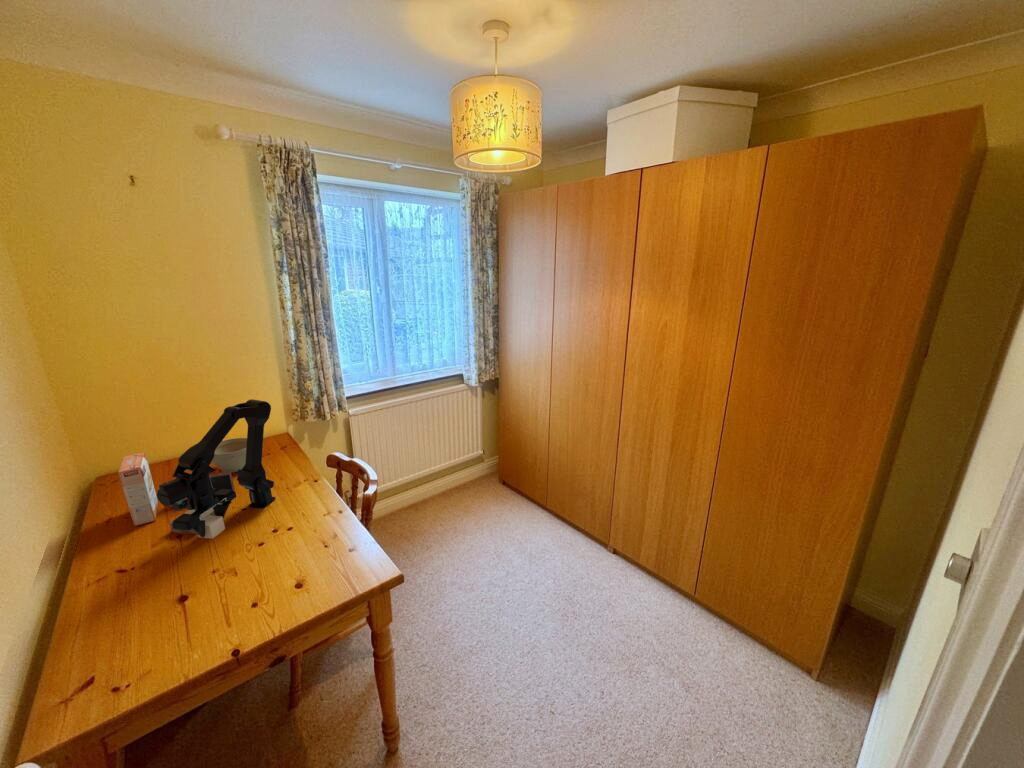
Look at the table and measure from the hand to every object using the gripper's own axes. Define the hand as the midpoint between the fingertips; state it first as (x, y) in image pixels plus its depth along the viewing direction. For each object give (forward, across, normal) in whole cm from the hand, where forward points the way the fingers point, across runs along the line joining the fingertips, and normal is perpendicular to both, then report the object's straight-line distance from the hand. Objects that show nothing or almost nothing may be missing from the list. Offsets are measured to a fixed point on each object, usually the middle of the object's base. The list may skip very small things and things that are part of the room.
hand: (211, 530), depth 131 cm
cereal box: (+1, -6, -31) cm, 32 cm away
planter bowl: (+1, -40, -26) cm, 48 cm away
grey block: (+1, -3, -9) cm, 10 cm away
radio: (+1, -19, -18) cm, 26 cm away
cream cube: (+1, 0, 0) cm, 1 cm away
